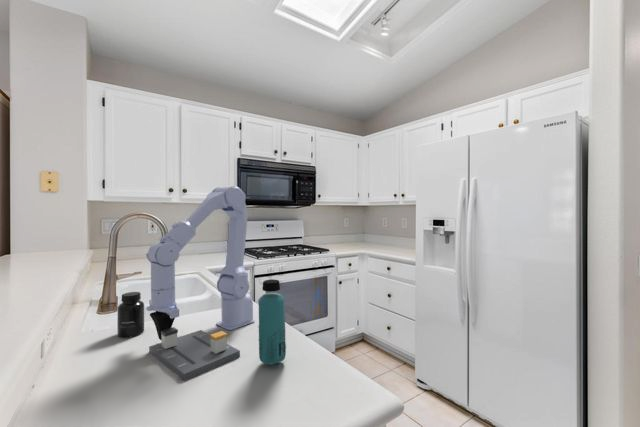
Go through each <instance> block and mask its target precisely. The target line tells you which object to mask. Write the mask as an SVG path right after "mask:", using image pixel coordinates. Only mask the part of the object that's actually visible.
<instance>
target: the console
mask: <svg viewBox="0 0 640 427" xmlns="http://www.w3.org/2000/svg"><path fill="white" fill-rule="evenodd" d="M210 335H211V334H209V333H207V332H206V331H203V330H201V329H200V330H196V331H193V332H190V333H187V334H184V335H180V336H177V345H176V346H173V347H170V348H167V349H165V348H163V347H162V342H159V343H155V344H152V345H150V346H148V348H149V350H148V351H149V352H148V353H149V354H151V355H152V357H154V358H156V360H158V361H159V362H160V363H162V364H163V365H164V366H165V367H166V368H168V369H169V370H170V371H172V372H173V373H174V374H175V375H176V376H178V377H179V378H180V379H182V381H185V382H186V381H188V380H189V379H191V378H194V377H196V376H199V375H201V374H204V373H206V372H208V371H210V370H213V369H215V368H217V367H220V366H222V365H223V364H226V363H229V362H231V361H233V360H235V359H238V358H239V357H240V356H241V354H240V353H241V350H239V349H238V348H236V347H233V346H232V345H230V344H228V343H227V349H226V350H224V351H221V352H219V353H216V354H215V353H214V352H212V351H211V338H210ZM240 358H241V357H240Z"/></svg>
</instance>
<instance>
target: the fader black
mask: <svg viewBox="0 0 640 427" xmlns="http://www.w3.org/2000/svg"><path fill="white" fill-rule="evenodd" d="M178 333H179V330H178V329H177V328H176V327H173V326H172V328H169V329H166V330H162V331H161V339H162V340H161V343H162V347H163V348H165V349H167V348H170V347H173V346H176V345H177V337H178Z"/></svg>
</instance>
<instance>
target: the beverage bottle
mask: <svg viewBox="0 0 640 427" xmlns="http://www.w3.org/2000/svg"><path fill="white" fill-rule="evenodd" d="M280 284H281V282H280V279H266V280H264V281H263V282H262V288H261V289H262V291H263V292H267V293H263V294H262V295H261V296H260V297H259V298H258V300H257V302H258V357H259V361H260V363H263V364H266V365H276V364H280V363H282V362H283V361H284V360H285V358H286V355H287V353H286V352H287V346H286V331H287V329H286V310H285V308H286V307H285V306H286V304H285V301H286V300H285V297H284V296H283V295H282V294H281V293H278V291H279V290H281V286H280Z"/></svg>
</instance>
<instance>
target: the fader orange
mask: <svg viewBox="0 0 640 427" xmlns="http://www.w3.org/2000/svg"><path fill="white" fill-rule="evenodd" d="M209 335H210V338H211V351H212V352H214V353H215V354H216V353H219V352H221V351H224V350H226V349H227V344H228V342H227V341H228V340H227V339H228V338H227V337H228V333H226V332H225V331H223V330H220V331H218V332H214V333H211V334H209Z"/></svg>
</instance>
